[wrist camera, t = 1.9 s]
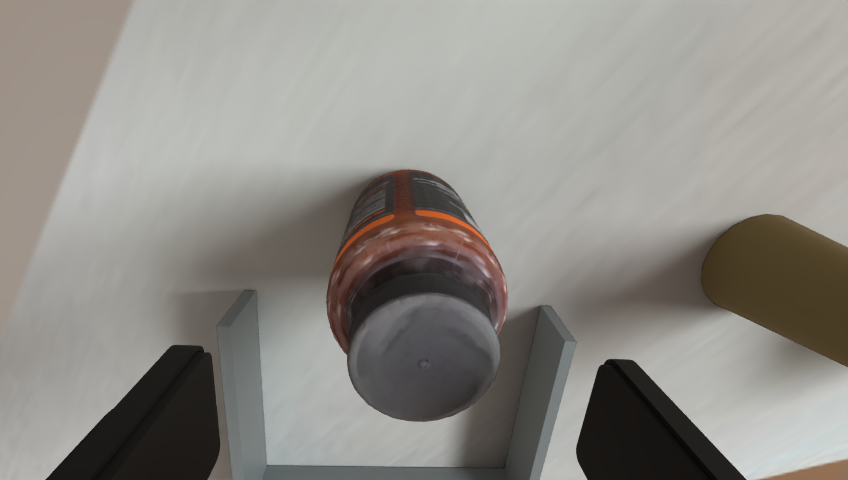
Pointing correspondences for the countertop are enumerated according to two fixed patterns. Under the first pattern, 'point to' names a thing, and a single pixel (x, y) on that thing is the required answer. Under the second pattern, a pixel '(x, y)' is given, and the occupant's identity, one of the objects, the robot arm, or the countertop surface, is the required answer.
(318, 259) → the countertop surface
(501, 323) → the supplement bottle
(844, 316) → the cork
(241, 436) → the fence
